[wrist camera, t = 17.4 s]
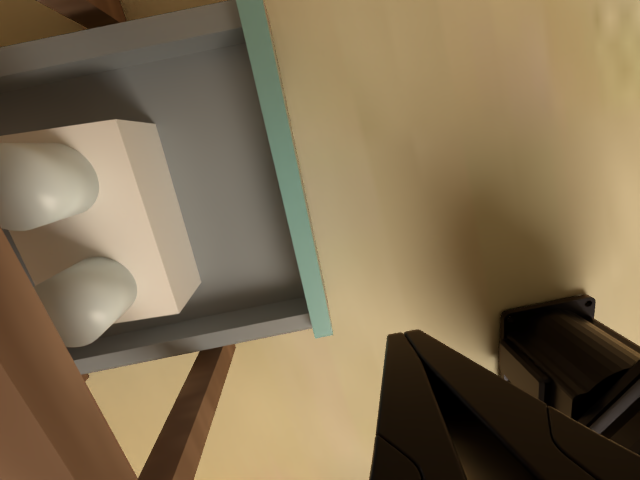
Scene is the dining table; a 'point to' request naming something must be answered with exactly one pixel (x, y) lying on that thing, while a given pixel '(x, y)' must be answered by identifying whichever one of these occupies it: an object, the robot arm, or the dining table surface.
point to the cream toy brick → (96, 225)
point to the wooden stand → (83, 375)
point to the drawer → (191, 166)
